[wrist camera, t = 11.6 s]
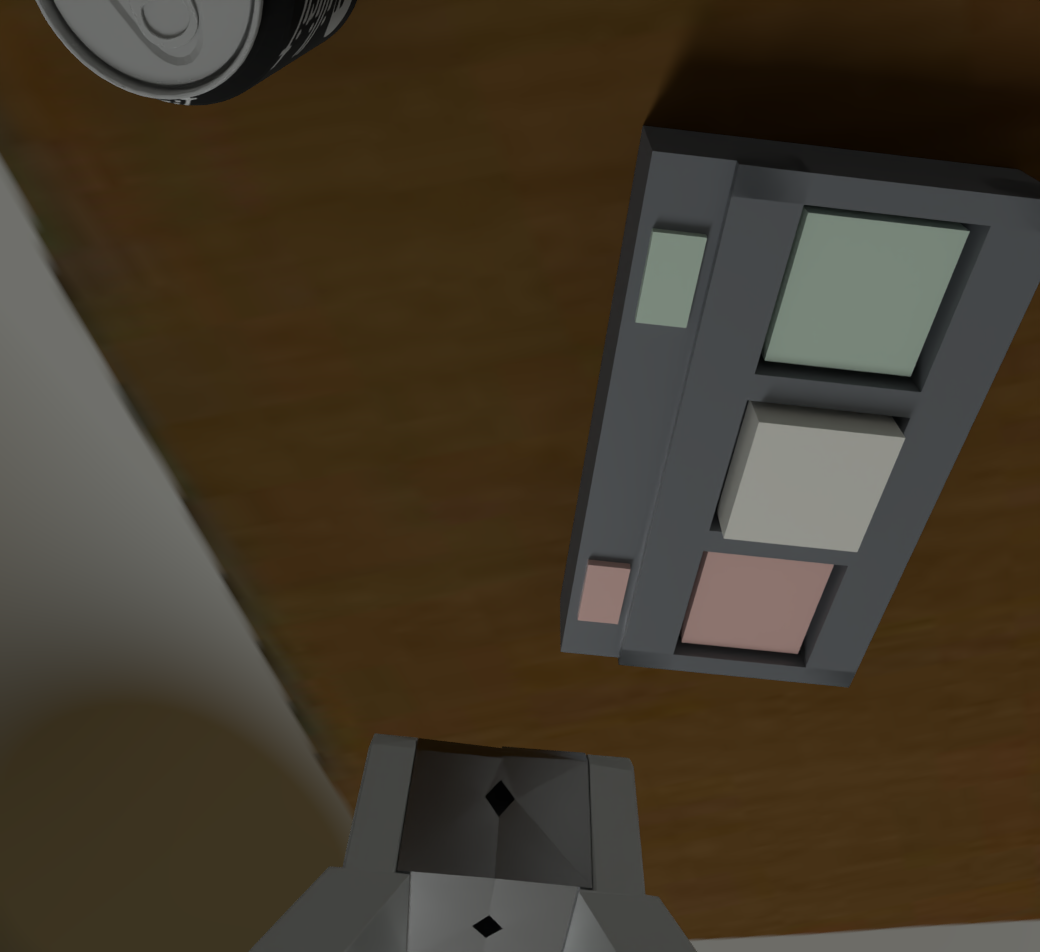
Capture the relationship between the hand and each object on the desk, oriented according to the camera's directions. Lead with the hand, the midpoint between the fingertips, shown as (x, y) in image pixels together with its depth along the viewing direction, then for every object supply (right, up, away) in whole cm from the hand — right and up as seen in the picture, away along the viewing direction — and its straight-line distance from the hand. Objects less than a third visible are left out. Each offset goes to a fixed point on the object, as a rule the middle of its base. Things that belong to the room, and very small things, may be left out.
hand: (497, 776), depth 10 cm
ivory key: (+13, +4, +28) cm, 31 cm away
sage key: (+13, +11, +24) cm, 30 cm away
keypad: (+11, +6, +30) cm, 33 cm away
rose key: (+12, -2, +33) cm, 35 cm away
